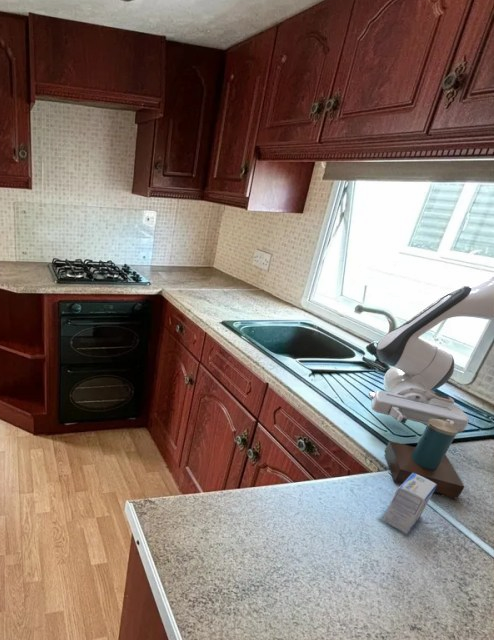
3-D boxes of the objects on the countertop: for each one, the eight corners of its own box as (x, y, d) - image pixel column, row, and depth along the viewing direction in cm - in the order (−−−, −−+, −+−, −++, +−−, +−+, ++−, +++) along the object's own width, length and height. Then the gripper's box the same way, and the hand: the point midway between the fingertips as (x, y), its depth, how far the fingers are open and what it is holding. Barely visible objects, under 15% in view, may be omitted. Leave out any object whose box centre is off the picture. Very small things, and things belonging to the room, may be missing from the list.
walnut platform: (438, 468, 97) (446, 455, 95) (456, 501, 87) (464, 486, 85) (383, 453, 100) (389, 440, 99) (393, 483, 90) (400, 469, 88)
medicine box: (406, 535, 76) (425, 500, 73) (381, 520, 79) (398, 486, 76) (419, 517, 81) (438, 484, 77) (395, 503, 84) (412, 471, 80)
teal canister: (434, 458, 93) (454, 422, 89) (441, 472, 89) (462, 435, 84) (407, 452, 95) (425, 416, 90) (413, 465, 90) (433, 427, 86)
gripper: (371, 380, 109) (381, 403, 98) (460, 399, 103) (482, 426, 92) (363, 400, 112) (371, 424, 100) (449, 420, 106) (469, 448, 94)
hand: (425, 425), depth 96 cm, fingers open, 8 cm apart
